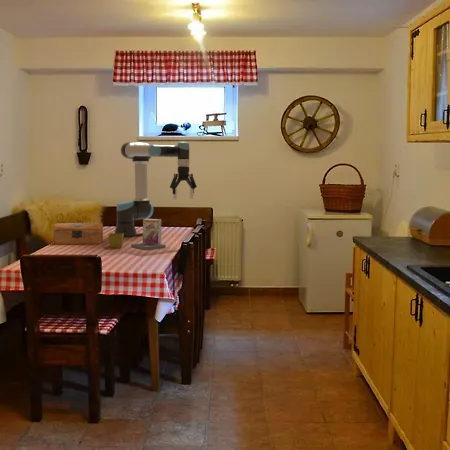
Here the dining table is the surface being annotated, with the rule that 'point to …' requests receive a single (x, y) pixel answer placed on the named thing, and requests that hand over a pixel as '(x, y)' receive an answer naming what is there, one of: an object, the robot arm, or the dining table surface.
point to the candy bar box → (151, 230)
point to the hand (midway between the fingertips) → (183, 199)
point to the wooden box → (78, 233)
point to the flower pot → (116, 239)
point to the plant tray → (141, 246)
